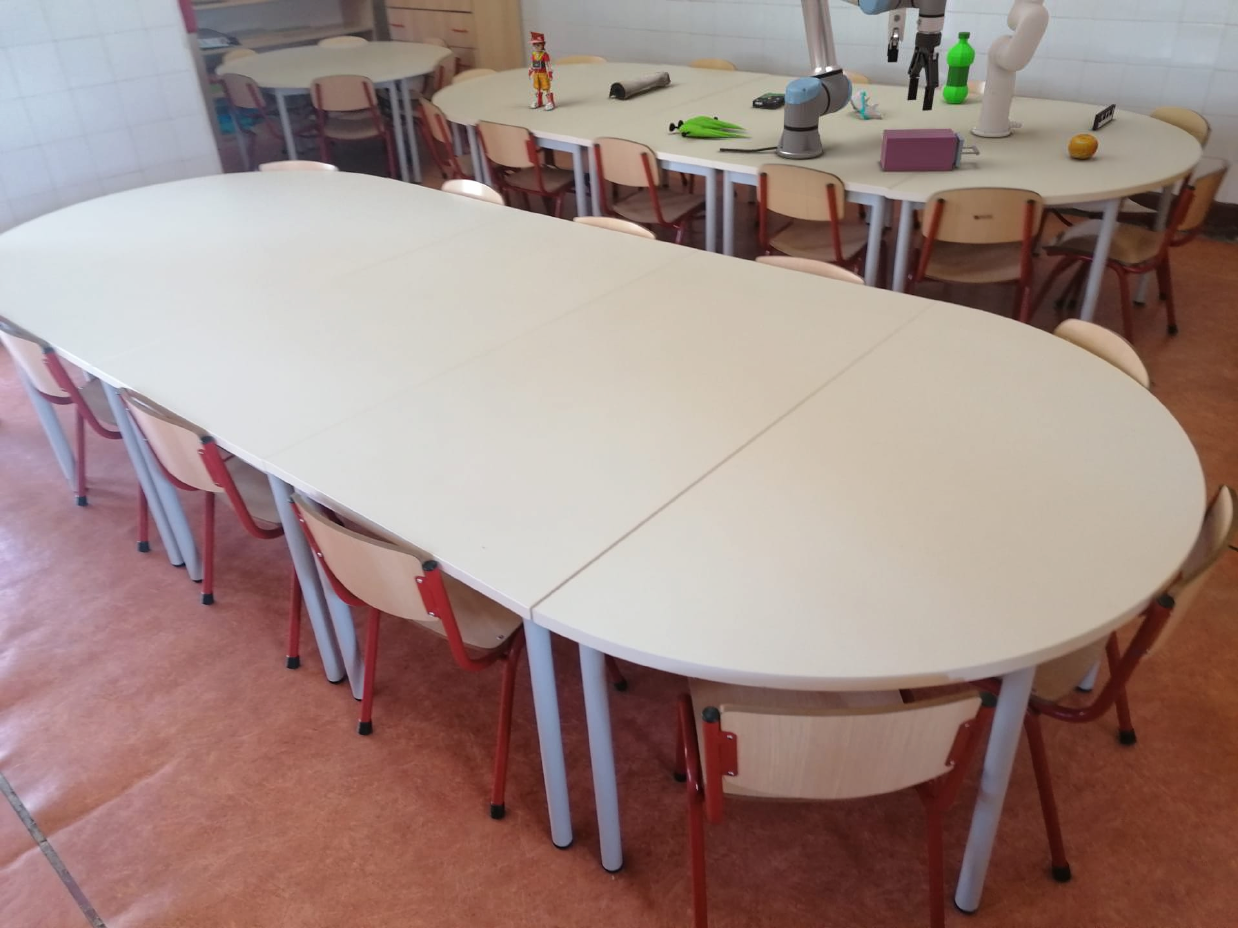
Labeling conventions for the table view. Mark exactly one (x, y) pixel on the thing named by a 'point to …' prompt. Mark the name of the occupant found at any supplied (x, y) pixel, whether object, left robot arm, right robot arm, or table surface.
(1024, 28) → the right robot arm
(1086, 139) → the fruit
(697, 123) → the toy
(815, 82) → the left robot arm
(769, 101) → the disk drive
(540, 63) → the toy
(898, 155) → the cabinet
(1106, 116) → the midi keyboard
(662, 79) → the rolled mat
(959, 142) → the drawer
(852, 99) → the anatomical model
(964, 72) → the plastic bottle
